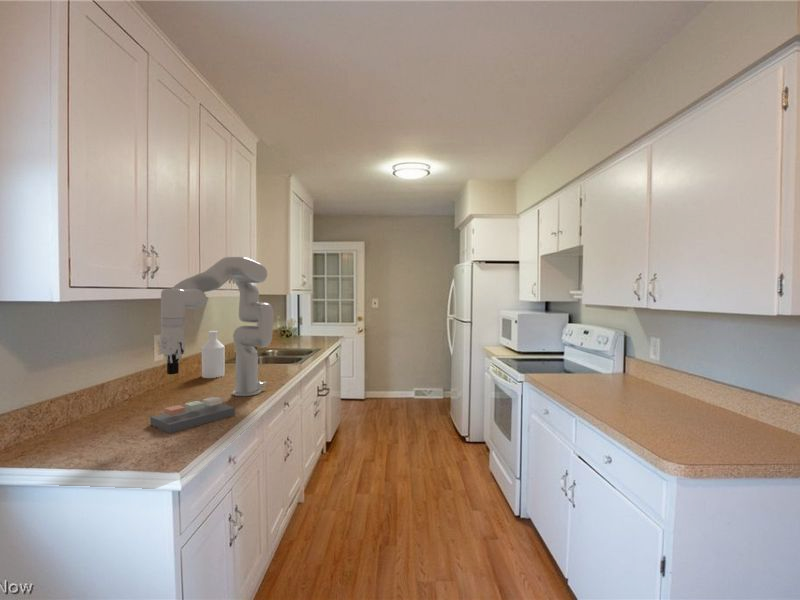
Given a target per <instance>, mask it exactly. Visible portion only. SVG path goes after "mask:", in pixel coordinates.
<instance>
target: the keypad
mask: <svg viewBox="0 0 800 600" xmlns="http://www.w3.org/2000/svg"><path fill="white" fill-rule="evenodd" d="M235 410H236V407H233V406H230V405H227V404H224V403H221V404H217V405H213V406H208V405H204V408H200V409H196V410H192V411H190V410H187V409H185V412H184V413H180V414H176V415H172V416H170V415H168V414H165V413H162V414H161V413H160V414H157V415H151V416H150V426H151V425H153V426H152V427H154V426H155V427H154V428H156V427H157V428H156V429H158V428H160V429H162V430H161V431H163V430H164V431H163V432H165V431H166V432H165V433H167V432H168V433H167V434H173V433H177V432H180V431H183V430H182V429H184V430H187V429H186V428H188V429H190V427H191V428H194V427H193V426H195V427H197V425H198V426H201V424H202V425H205V424H209V423H212V421H213V422H216V421H219V419H220V420H223V419H227V418H230V417H234V416H235V415H236V411H235ZM233 415H234V416H233ZM229 416H230V417H229ZM226 417H227V418H226ZM222 418H223V419H222ZM215 420H216V421H215ZM160 429H159V430H160ZM179 430H180V431H179ZM176 431H177V432H176ZM172 432H173V433H172Z"/></svg>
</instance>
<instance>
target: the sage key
mask: <svg viewBox="0 0 800 600" xmlns="http://www.w3.org/2000/svg"><path fill="white" fill-rule="evenodd" d="M183 405H184V406H183V407H185V409H187V410H190V411H192V410H196V409H200V408H204V403H203V401H199V400H194V401H190V402H186V403H184V404H183Z"/></svg>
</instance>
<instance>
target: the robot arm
mask: <svg viewBox="0 0 800 600" xmlns="http://www.w3.org/2000/svg"><path fill="white" fill-rule="evenodd" d="M267 277H268V270H267V268H266V267H265V265H263V264H262V263H260V262H258V261H255V260H253V259H250V258H249V257H245V256H227V257H225V256H224V257H223V258H221V259H219V260H218V261H216V263H215V264H213V265H211V266H210V267H209V268H208V269H206V270H204V271H203V272H200V273H198V274H195V275H193V276H190V277H188V278H185V279H183V280H181V281H179V282H178V283H176V284H175V285H173V286H172V288H164V289H161V291H160V328H161V329H160V333H159V334H160V335H159V351H158V352H159V353H160V354H161V355H164V356H165V359H166V363H167V364H166V374H167V375H177V374H179V368H180V367H179V366H180V365H179V362H180V360H181V359H182V355H183V354H184V353H186V338H185V327H186V309H199V308H202V307H203V306H205V304H206V302H207V295H206V293H207V292H212V291H215V290H218V289H220V288H221V287H222V286H223V285H225V284H226V283H227V282H228V281H229V280H230V279H232V281H233V282H234V283H235V285H236V286H237V288H238V291H239V299H238V300H239V302H238V318H239V321H240V322H243V323H249V324H258V325H241V326H240V325H239V326H238V327H236V328H235V330H234V331H233V334H232V336H233V338H232V339H233V344H234V349H235V389H234V390H233V391H232V392H231V393H232V396H234V395H235V396H234V397H250V396H256V395H259V394H261V393H262V389H261V388H262V387H266V386H267V381H262V382H261V381H259V380H258V379H259V377H258V376H259V375H258V373H259V372H258V371H259V370H258V369H259V368H258V365H259V364H258V360H259V359H258V355H259V354H258V352H257V349H256V348H257V347H260V348H261V347H262V348H263V347H264V348H265V347H268V346H270V344H271V342H272V340H273V330H274V319H275V318H274V317H275V316H274V310H273V307H272V305H271V304H270V303H267V302H260V291H259V289H258V287H257V285H256V284H261V283H263V282H264V281H266V280H267ZM255 347H256V348H255Z"/></svg>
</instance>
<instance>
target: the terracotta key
mask: <svg viewBox="0 0 800 600" xmlns="http://www.w3.org/2000/svg"><path fill="white" fill-rule="evenodd" d="M163 410H164V412H163V414H168V415H170V416H172V415H176V414H180V413H184V412H185V407H184V406H183V405H179V404H178V405H172V406H168V407H164V409H163Z"/></svg>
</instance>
